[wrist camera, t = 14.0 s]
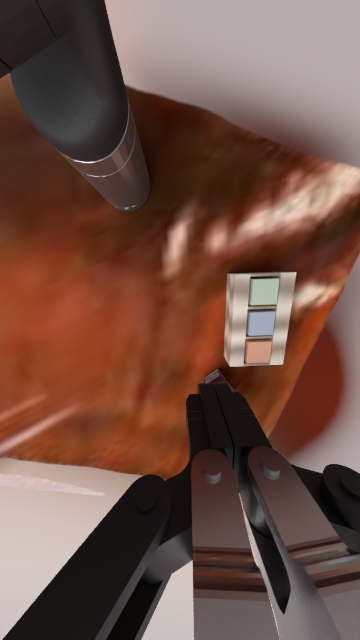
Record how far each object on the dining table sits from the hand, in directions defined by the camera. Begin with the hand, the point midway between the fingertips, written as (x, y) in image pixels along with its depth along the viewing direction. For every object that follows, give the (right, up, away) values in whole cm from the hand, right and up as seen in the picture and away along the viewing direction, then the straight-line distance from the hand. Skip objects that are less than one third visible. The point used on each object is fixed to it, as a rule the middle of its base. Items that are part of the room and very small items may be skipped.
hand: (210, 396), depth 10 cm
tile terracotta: (+15, -2, +33) cm, 36 cm away
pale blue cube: (+15, +4, +31) cm, 35 cm away
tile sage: (+15, +11, +29) cm, 34 cm away
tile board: (+15, +5, +33) cm, 36 cm away
